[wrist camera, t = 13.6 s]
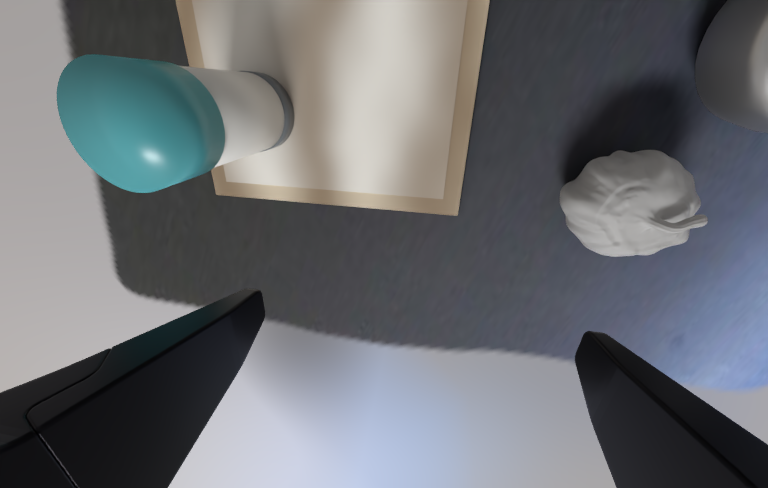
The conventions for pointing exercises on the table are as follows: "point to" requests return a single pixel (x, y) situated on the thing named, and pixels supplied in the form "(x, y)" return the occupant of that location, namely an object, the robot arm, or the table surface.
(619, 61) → the table surface
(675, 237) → the garlic
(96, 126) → the cylinder
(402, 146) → the picture frame
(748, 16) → the plastic bottle
